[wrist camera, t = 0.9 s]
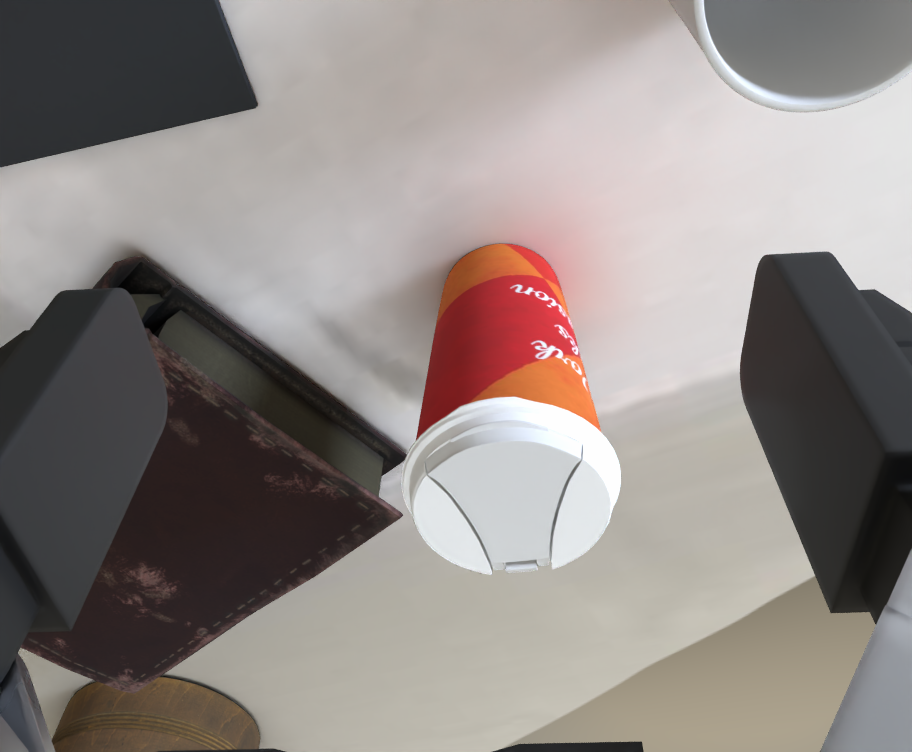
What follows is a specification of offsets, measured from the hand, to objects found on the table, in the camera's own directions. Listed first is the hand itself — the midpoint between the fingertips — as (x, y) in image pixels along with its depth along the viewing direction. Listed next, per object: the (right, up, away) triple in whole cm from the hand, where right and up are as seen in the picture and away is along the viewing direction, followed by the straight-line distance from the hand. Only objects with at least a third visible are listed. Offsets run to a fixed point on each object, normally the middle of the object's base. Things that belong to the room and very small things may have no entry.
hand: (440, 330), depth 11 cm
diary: (-17, -6, +36) cm, 40 cm away
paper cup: (+2, +3, +28) cm, 28 cm away
